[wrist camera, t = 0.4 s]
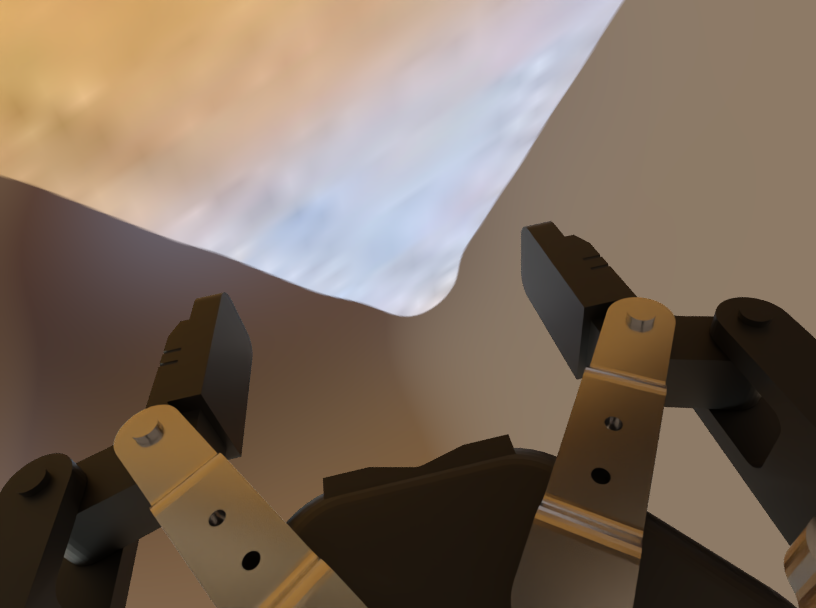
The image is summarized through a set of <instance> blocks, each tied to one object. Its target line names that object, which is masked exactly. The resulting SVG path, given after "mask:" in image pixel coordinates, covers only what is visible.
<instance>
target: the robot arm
mask: <svg viewBox="0 0 816 608" xmlns="http://www.w3.org/2000/svg"><path fill="white" fill-rule="evenodd" d="M521 276H522V282H523V286H524V289H525V292H526V295H527V296H528V298H529V300H530V301H531V303H532V305H533V307H534V308H535V310H536V311H537V313H538V315H539V317H540V318H541V320H542V322H543V323H544V325H545V327H546V329H547V330H548V332H549V334H550V335H551V337H552V339H553V340H554V342H555V344H556V345H557V347H558V349H559V350H560V352H561V354H562V356H563V357H564V359H565V361H566V362H567V364H568V366H569V367H570V369H571V371H572V372H573V374H574V376H575V378H576V379H581V378H582V380H581V384H580V387H579V389H578V393H577V396H576V399H575V402H574V405H573V408H572V411H571V414H570V418H569V421H568V424H567V427H566V430H565V433H564V437H563V439H562V442H561V446H560V449H559V452H558V455H557V457H556V456H554V455H551V454H548V453H545V452H541V451H537V450H532V449H523V448H513V445H512V443H511V441H510V438H509V435H503V436H499V437H495V438H491V439H486V440H482V441H478V442H474V443H470V444H466V445H462V446H460V447H458V448H456V449H454V450H452V451H450V452H448V453H446V454H444V455H442V456H440V457H438V458H436V459H434V460H433V461H430V462H428V463H426V464H425V465H422V466H419V467H368V468H364V469H360V470H356V471H352V472H347V473H343V474H339V475H335V476H330V477H326V478H323V488H324V494H322V495H320V496H318V497H316V498H314V499H313V500H311V501H310V502H308V503H307V504H306V505H304V506H303V507H302V508H301V509H299V510H298V511H297V512H296V513H295V514H294V515H293V516H292V517H291V518H290V519H289V520H288V521H287V522H285V521H284V520H282V518H281V517H280V516H279V515H278V514H277V513H276V512H275V511H274V509H273V508H272V507H271V506H270V505H269V504H268V503H267V502H266V501H265V500H264V499H263V498H262V497H261V495H260V494H259V493H258V492H257V491H256V490H255V489H254V488H253V487H252V486H251V485H250V484H249V482H247V480H246V479H245V478H244V477H243V476H242V475H241V474H240V473H239V472H238V471H237V470H236V468H235V467H234V466H233V465H232V464H231V463H230V462H229V461H228V460H229V459H233V458H237V457H241V454H242V445H243V436H244V428H245V419H246V410H247V400H248V392H249V382H250V374H251V365H252V346H251V341H250V338H249V335H248V333H247V331H246V329H245V327H244V325H243V323H242V321H241V319H240V317H239V315H238V313H237V310H236V309H235V306H234V304H233V303H232V300H231V298H230V297H229V295H228V294H227V293H225V292H224V293H219V294H215V295H210V296H206V297H201V298H197V299H196V300H195V302H194V305H193V308H192V312H191V316H190V319H189V320H185V321H180V323H179V324H178V325H177V326H176V328H175V329H174V330H173V331H172V333H171V334H170V335H169V337H168V339H167V343H166V345H165V349H164V354H163V355H162V358H161V361H160V367H159V368H158V371H157V374H156V377H155V380H154V383H153V386H152V390H151V393H150V396H149V400H148V403H147V405H146V409H144V410H142V411H140V412H139V413H137V414H135V415H134V416H133V417H132V418H130V419H129V420H128V421H127V422H126V423H125V424H124V425H123V426H122V427H121V428H120V430H119V432H118V433H117V435H116V437H115V440H114V445H112V446H111V447H109V448H107V449H105V450H103V451H101V452H99V453H96V454H94V455H92V456H90V457H88V458H86V459H84V460H82V461H80V462H78V463H75V462H73V460H72V459H70V458H69V457H68V456H67V455H65V454H60V453H56V454H55V453H54V454H49V455H45V456H42V457H40V458H38V459H36V460H34V461H32V462H30V463H28V464H27V465H25V466H24V467H23V468H21V469H20V470H19V471H18V472H16V473H15V474H14V475H13V476H12V477H11V478H10V480H9V481H8V482H7V483H6V484H5V486H4V487H3V489H2V491H1V492H0V608H125V606H126V601H127V596H128V591H129V586H130V580H131V576H132V571H133V566H134V561H135V556H136V551H137V546H138V541H139V539H140V538H142V537H144V536H145V535H147V534H149V533H151V532H153V531H155V530H156V529H158V528H160V527H162V528H163V530H164V531H165V533H166V534H167V536H168V537H169V538H170V540H171V541H172V543H173V544H174V546H175V547H176V549H177V550H178V552H179V553H180V555H181V556H182V557H183V559H184V560H185V562H186V564H187V565H188V566H189V568H190V569H191V571H192V572H193V574H194V575H195V577H196V578H197V580H198V581H199V583H200V584H201V586H202V587H203V589H204V590H205V591H206V593H207V594H208V596H209V597H210V599H211V600H212V602H213V603H214V605H215V606H216V608H796V607H795V606H794V605H793V604H792V603H790V602H789V601H788V600H787V599H785V598H784V597H783V596H781V595H780V594H779V593H777V592H776V591H774V590H773V589H771V588H770V587H768V586H767V585H765V584H763V583H762V582H760V581H759V580H757V579H756V578H754V577H752V576H751V575H749V574H747V573H746V572H744V571H743V570H741V569H739V568H738V567H736V566H734V565H733V564H731V563H730V562H728V561H727V560H725V559H723V558H722V557H720V556H718V555H717V554H715V553H713V552H712V551H710V550H709V549H707V548H706V547H704V546H702V545H701V544H699V543H697V542H696V541H694V540H693V539H691V538H689V537H688V536H686V535H685V534H683V533H681V532H680V531H678V530H676V529H675V528H673V527H672V526H670V525H668V524H667V523H665V522H664V521H662V520H660V519H659V518H657V517H656V516H654V515H652V514H651V513H649V512H647V507H648V500H649V494H650V489H651V483H652V477H653V471H654V464H655V458H656V452H657V446H658V440H659V433H660V428H661V422H662V415H663V409H664V407H680V408H693V409H694V410H695V412H696V413H697V415H698V416H699V417H700V419H701V420H702V422H703V423H704V425H705V426H706V427H707V429H708V430H709V432H710V433H711V434H712V436H713V437H714V439H715V440H716V442H717V443H718V444H719V446H720V447H721V449H722V450H723V452H724V453H725V454H726V456H727V457H728V459H729V460H730V461H731V463H732V464H733V466H734V467H735V469H736V470H737V471H738V473H739V474H740V476H741V477H742V478H743V480H744V481H745V483H746V484H747V485H748V487H749V488H750V490H751V491H752V493H753V494H754V495H755V497H756V498H757V500H758V501H759V503H760V504H761V505H762V507H763V508H764V510H765V511H766V513H767V514H768V515H769V517H770V518H771V520H772V521H773V522H774V524H775V525H776V527H777V528H778V530H779V531H780V532H781V534H782V535H783V536H784V538H785V539H786V541H787V542H788V544H789V545H790V547H789V549H788V550H787V552H786V554H785V557H784V569H785V573H786V576H787V579H788V581H789V583H790V585H791V587H792V589H793V591H794V593H795V595H796V598H797V601H798V606H799V608H816V339H815V338H814V337H813V336H812V335H811V334H810V333H809V332H808V331H806V330H805V329H804V328H803V327H802V326H801V325H800V324H799V323H798V322H796V321H795V320H794V319H793V318H792V317H791V316H790V315H789V314H788V313H787V312H785V311H784V310H783V309H781V308H780V307H778V306H776V305H774V304H772V303H770V302H767V301H764V300H760V299H755V298H748V297H738V298H732V299H728V300H726V301H724V302H722V303H720V304H719V306H718V307H717V309H716V312H715V315H714V317H709V316H708V317H707V316H674V315H673V313H672V312H671V311H670V310H669V309H668V308H667V307H666V306H664V305H663V304H661V303H659V302H657V301H654V300H651V299H647V298H639V297H637V296H636V295H635V294H634V293H633V292H632V291H631V289H630V288H629V287H628V286H627V285H626V284H625V283H624V281H623V280H622V279H621V278H620V277H619V276H618V275H617V274H616V273H615V271H614V270H613V269H612V268H611V267H610V266H608V263H607V262H606V261H605V260H604V259H603V258H602V257H600V254H599V253H598V252H597V251H596V250H595V249H594V247H593V246H592V245H591V244H590V243H589V242H586V241H585V240H583V239H581V238H579V237H577V236H575V235H571V236H566V237H564V235H563V234H562V233H561V232H560V231H559V229H558V228H557V227H556V225H554V223H553V222H551V221H549V222H544V223H540V224H535V225H530V226H526V227H523V229H522V232H521Z"/></svg>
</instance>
